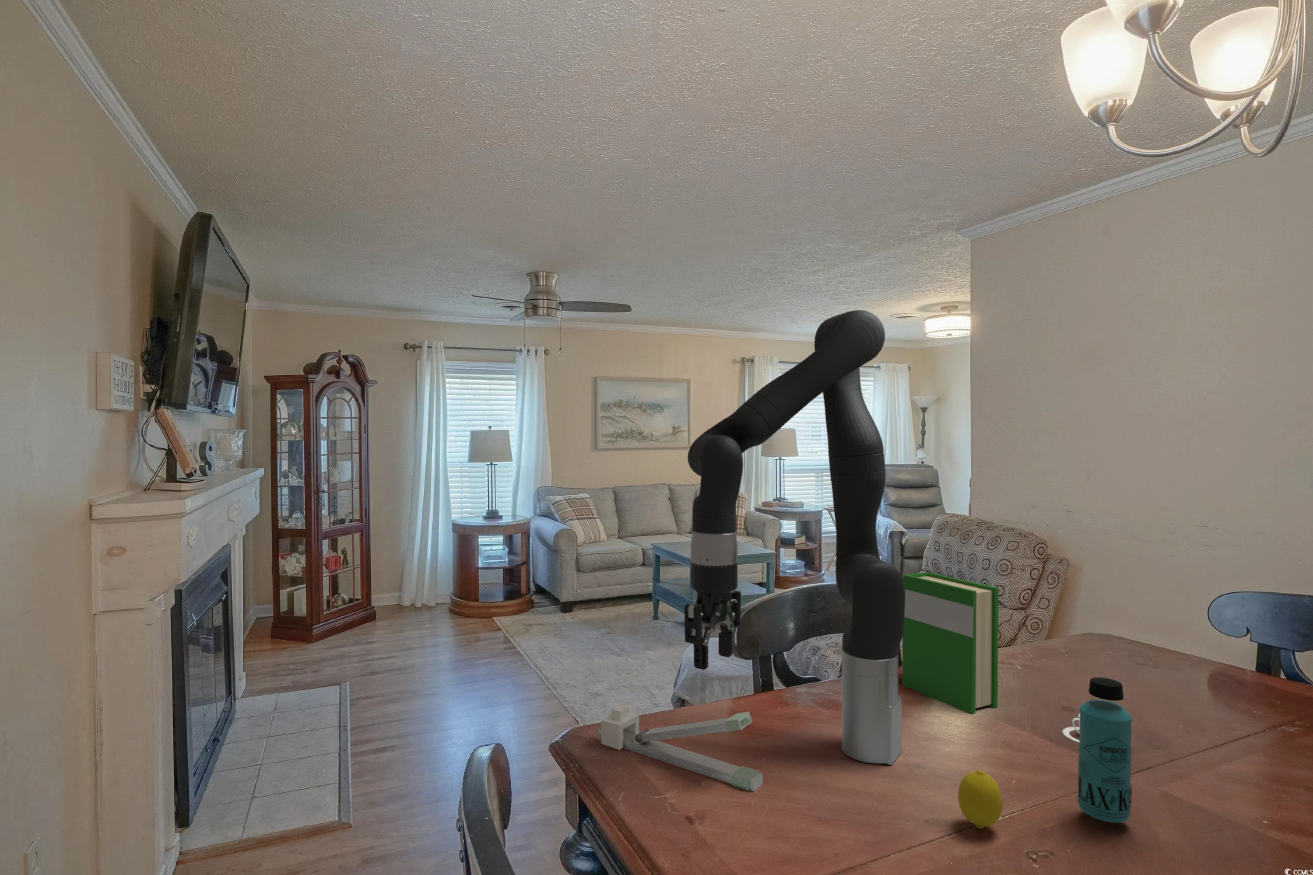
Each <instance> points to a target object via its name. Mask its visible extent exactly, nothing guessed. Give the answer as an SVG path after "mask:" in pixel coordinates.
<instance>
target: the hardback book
mask: <svg viewBox="0 0 1313 875" xmlns="http://www.w3.org/2000/svg"><path fill="white" fill-rule="evenodd" d="M902 578H903V581H904V586H905V614H904V631H903V637H902V661H901V662H902V663H901V664H902V665H901V666H902V671H901V672H902V674H901V676H902V679H901V680H902V682H901V684H902V686H904V687H906V688H908V689H911V690H913V691H915V692H918V693H920V694H922V695H924V696H927V697H930V698H932V699H934V700H936V701H939V702H941V703H944V704H946V705H948V706H951V707H954V708H956V709H958V710H960V711H963V712H965V713H968V714H969V715H975V714H977V713H976V709H979V708H982V707H986V706H987V707H989V708H992V709H997V708H999V707H998V706H999V704H998V699H999V698H998V697H999V696H998V694H999V691H998V690H999V688H998V686H999V684H998V683H999V681H998V680H999V678H998V677H999V673H998V672H999V587H997V586H992V585H988V584H983V583H979V582H973V581H969V580H964V579H960V578H956V577H950V576H946V575H943V574H938V573H934V572H929V571H925V572H924V571H923V572H916V573H908V574H902Z"/></svg>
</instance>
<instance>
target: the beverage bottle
mask: <svg viewBox="0 0 1313 875" xmlns="http://www.w3.org/2000/svg"><path fill="white" fill-rule="evenodd" d="M1088 693H1089V695H1091V696H1092V697H1095V699H1094V698H1093V699H1090V700H1087V701H1085V702H1084V703H1083V704H1081V705H1080V706H1079V712H1080V713H1079V714H1080V731H1079V732H1080V734H1079V739H1078V740H1079V742H1078V743H1079V746H1078V751H1077V753H1078V756H1077V762H1078V764H1077V767H1078V771H1077V788H1078V789H1077V797H1076V802H1077V804H1078V807H1079V809H1080V810H1081V811H1082V812H1083V813H1085V814H1086V815H1087V816H1090V817H1091V818H1095V819H1097V820H1099V821H1104V822H1109V823H1118V824H1119V823H1125V822H1127V821H1128V820H1129V818H1130V816H1131V815H1132V796H1133V795H1132V793H1133V792H1132V791H1133V787H1132V786H1133V785H1132V783H1131V781H1132V755H1133V749H1132V721H1133V717H1132V715H1131V714H1130V712H1129V711H1128V710H1127V709H1125V707H1123V706H1122V705H1121V704H1119V703H1117V702H1118V701H1122V700H1124V690H1123V684H1122V683H1121V682H1120V681H1119V680H1115V679H1112V678H1108V677H1101V676H1100V677H1099V676H1098V677H1097V676H1096V677H1092V678H1090V680H1089V686H1088ZM1113 701H1114V702H1113ZM1115 701H1117V702H1115Z"/></svg>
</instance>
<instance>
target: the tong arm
mask: <svg viewBox="0 0 1313 875" xmlns="http://www.w3.org/2000/svg"><path fill="white" fill-rule="evenodd" d="M752 722H753V720H752V717H751V714H750V711H745V712H744V711H743V712H738V713H737V712H736V713H735V714H733V715H732V716H730V717H725V718H717V719H711V720H710V719H709V720H703V721H702V720H701V721H697V722H690V723H681V724H676V725H670V726H669V725H667V726H662V727H653V728H650V729H649V731H647V732H645V733H644V734H642V739H643V742H647V741H655V740H656V741H660V740H661V741H662V740H669V739H677V738H683V737H684V738H686V737H693V736H700V735H701V736H702V735H707V734H715V733H716V734H717V733H723V732H727V733H729V732H734V731H742V730H743V729H745V728H746V727H747V726H749V725H750V724H752Z"/></svg>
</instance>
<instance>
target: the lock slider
mask: <svg viewBox="0 0 1313 875" xmlns="http://www.w3.org/2000/svg"><path fill="white" fill-rule="evenodd" d="M600 722H601V726H600V727H601V740H600V741H601V742H600V744H601V745H603V746H606V747H610V748H612V749H614V750H615V749H616V750H619V751H620V750H622V749H624V748H623V730H625V731H628V732H631V733H634V734H639V733H640V714H637V713H634V712H631V711H630V707H629V706H625V705H622V704H619V705H617V706H616V707H613V708H612V709H611V714H610V715H609V716H606V717H604V718H603V719H601V721H600Z"/></svg>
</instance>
